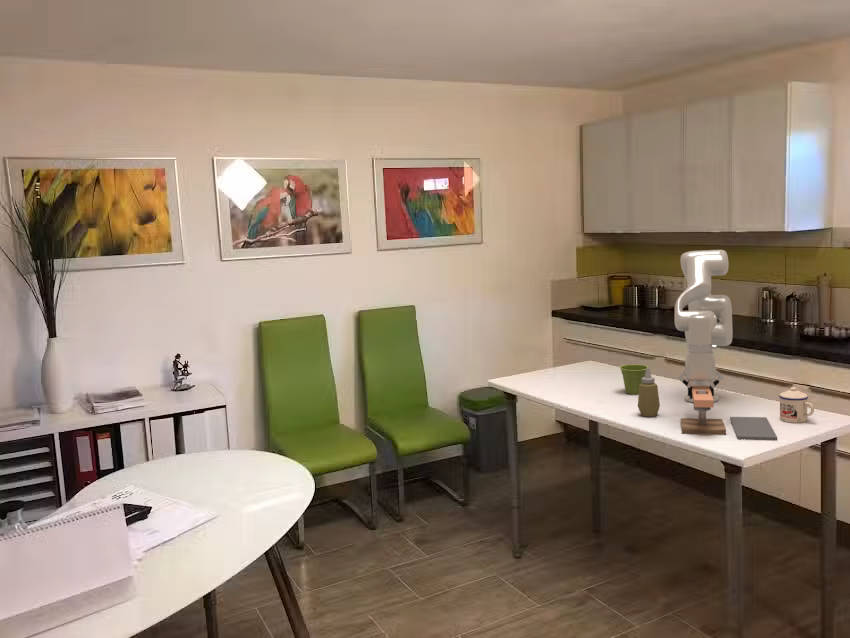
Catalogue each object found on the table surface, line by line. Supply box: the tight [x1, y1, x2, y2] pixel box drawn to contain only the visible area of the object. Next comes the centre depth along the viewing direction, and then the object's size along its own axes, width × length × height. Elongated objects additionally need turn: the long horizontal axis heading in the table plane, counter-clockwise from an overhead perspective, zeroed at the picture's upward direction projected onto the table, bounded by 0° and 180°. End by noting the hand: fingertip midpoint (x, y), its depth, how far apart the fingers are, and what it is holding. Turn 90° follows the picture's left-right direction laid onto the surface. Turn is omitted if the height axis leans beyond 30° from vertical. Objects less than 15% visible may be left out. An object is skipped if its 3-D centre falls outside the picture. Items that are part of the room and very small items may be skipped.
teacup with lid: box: [778, 386, 815, 424], centre depth 250 cm, size 12×9×12 cm
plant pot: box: [619, 363, 649, 395], centre depth 304 cm, size 12×12×11 cm
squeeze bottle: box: [637, 367, 661, 418], centre depth 269 cm, size 8×8×18 cm
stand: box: [680, 390, 727, 436], centre depth 248 cm, size 14×14×14 cm
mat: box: [729, 416, 778, 441], centre depth 244 cm, size 24×12×1 cm, turn 162°
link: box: [692, 386, 715, 408], centre depth 248 cm, size 20×6×2 cm, turn 162°
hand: (700, 397), depth 255 cm, fingers closed on link, 5 cm apart
